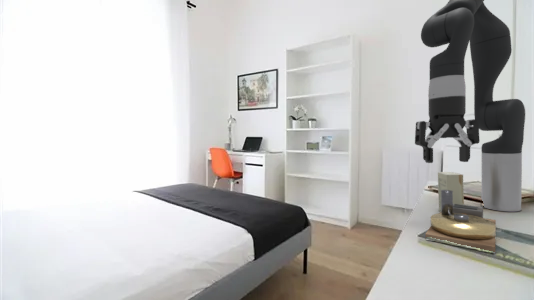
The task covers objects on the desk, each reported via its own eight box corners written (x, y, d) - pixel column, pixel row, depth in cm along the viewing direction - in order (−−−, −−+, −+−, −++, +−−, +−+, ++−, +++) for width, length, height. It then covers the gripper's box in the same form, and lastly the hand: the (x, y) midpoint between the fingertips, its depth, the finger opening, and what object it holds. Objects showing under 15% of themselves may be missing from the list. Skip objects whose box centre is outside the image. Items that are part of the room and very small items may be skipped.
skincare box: (464, 217, 74) (464, 174, 73) (447, 216, 75) (447, 174, 74) (453, 210, 80) (453, 171, 79) (437, 210, 81) (437, 171, 80)
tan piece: (439, 217, 74) (439, 201, 74) (495, 225, 66) (495, 207, 66) (425, 240, 59) (425, 220, 59) (495, 254, 51) (495, 231, 51)
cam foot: (420, 221, 67) (419, 190, 66) (467, 219, 67) (467, 188, 66) (452, 240, 55) (452, 202, 54) (511, 238, 54) (511, 200, 54)
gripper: (425, 95, 60) (426, 164, 61) (488, 93, 60) (488, 162, 61) (409, 100, 68) (409, 161, 69) (464, 97, 67) (464, 159, 68)
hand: (446, 162), depth 65 cm, fingers open, 8 cm apart
